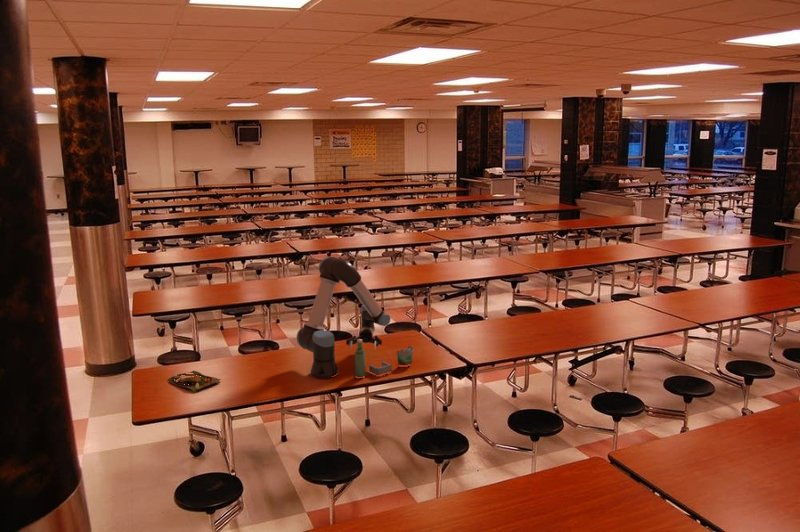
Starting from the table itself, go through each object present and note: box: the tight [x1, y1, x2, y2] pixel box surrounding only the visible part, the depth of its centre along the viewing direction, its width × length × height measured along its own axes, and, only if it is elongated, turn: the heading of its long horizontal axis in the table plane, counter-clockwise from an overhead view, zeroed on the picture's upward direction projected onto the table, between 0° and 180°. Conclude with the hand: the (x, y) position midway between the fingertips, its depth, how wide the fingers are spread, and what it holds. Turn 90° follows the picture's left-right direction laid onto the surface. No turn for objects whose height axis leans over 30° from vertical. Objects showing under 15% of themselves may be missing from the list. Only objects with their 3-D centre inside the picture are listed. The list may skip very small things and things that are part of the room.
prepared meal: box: [167, 370, 222, 394], centre depth 328 cm, size 28×4×18 cm
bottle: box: [354, 339, 366, 377], centre depth 333 cm, size 6×6×21 cm
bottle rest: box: [368, 361, 393, 375], centre depth 341 cm, size 10×10×5 cm
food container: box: [396, 345, 415, 366], centre depth 351 cm, size 12×6×10 cm, turn 143°
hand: (362, 347), depth 342 cm, fingers open, 13 cm apart
